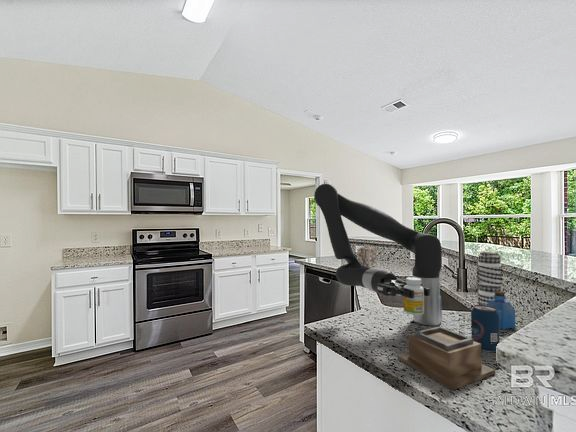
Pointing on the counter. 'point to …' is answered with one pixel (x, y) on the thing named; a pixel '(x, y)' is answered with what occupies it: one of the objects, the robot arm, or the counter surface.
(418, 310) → the supplement bottle
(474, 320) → the soda can
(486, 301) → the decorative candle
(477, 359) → the display pedestal
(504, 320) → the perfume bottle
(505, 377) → the counter surface
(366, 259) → the decorative jar
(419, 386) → the counter surface
